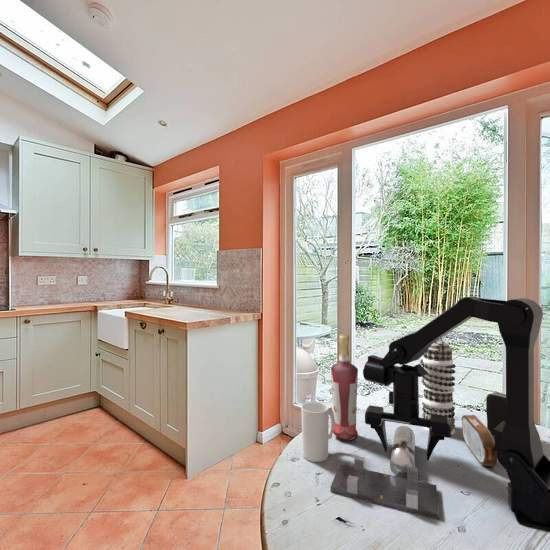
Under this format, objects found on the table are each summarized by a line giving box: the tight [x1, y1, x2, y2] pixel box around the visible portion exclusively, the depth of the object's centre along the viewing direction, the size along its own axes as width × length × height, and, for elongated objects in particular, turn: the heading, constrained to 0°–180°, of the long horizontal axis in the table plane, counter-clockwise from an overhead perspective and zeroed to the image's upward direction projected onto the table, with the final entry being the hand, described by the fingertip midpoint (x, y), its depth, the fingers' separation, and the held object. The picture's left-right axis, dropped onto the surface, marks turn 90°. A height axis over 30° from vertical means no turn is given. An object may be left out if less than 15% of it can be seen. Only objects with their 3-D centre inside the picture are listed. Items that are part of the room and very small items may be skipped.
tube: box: [389, 425, 416, 479], centre depth 79 cm, size 16×5×5 cm, turn 156°
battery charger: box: [485, 392, 506, 436], centre depth 90 cm, size 7×4×11 cm, turn 34°
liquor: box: [330, 334, 359, 441], centre depth 91 cm, size 7×7×28 cm
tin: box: [461, 414, 498, 468], centre depth 81 cm, size 15×3×8 cm, turn 168°
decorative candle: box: [419, 340, 456, 436], centre depth 95 cm, size 9×9×25 cm
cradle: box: [330, 455, 440, 520], centre depth 67 cm, size 20×10×4 cm, turn 66°
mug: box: [300, 401, 335, 463], centre depth 82 cm, size 10×7×12 cm, turn 125°
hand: (406, 455), depth 79 cm, fingers open, 9 cm apart
